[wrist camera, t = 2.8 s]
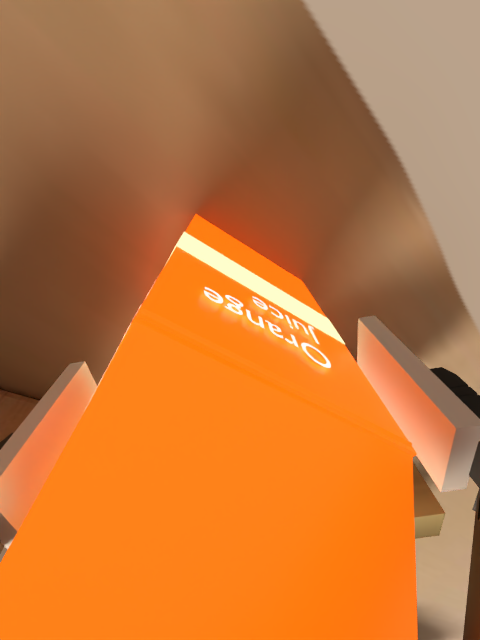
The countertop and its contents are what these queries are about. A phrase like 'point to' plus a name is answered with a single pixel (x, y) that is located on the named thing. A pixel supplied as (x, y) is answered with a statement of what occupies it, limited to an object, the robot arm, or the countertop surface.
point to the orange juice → (222, 477)
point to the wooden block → (13, 415)
